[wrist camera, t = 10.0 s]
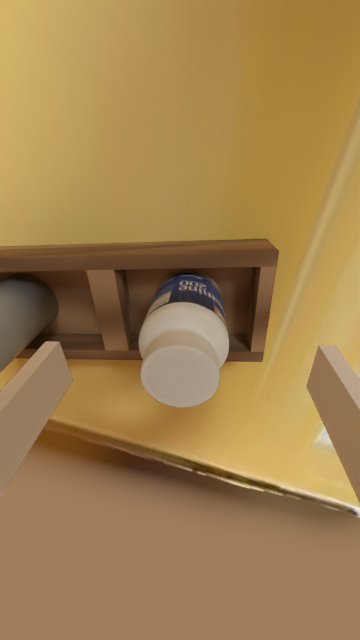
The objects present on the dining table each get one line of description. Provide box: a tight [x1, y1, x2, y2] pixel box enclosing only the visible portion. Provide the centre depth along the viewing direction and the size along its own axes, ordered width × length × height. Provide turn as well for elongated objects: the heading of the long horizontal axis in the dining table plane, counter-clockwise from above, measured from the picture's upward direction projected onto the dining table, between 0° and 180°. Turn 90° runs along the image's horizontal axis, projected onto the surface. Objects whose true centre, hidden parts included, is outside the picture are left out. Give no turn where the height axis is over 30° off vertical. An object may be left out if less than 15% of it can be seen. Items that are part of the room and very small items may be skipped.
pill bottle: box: [139, 270, 229, 407], centre depth 17 cm, size 5×5×10 cm
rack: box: [0, 239, 279, 362], centre depth 21 cm, size 9×24×4 cm, turn 93°
